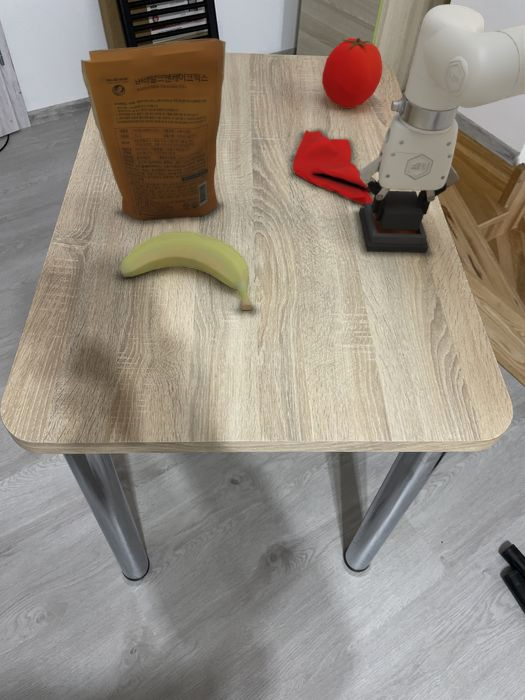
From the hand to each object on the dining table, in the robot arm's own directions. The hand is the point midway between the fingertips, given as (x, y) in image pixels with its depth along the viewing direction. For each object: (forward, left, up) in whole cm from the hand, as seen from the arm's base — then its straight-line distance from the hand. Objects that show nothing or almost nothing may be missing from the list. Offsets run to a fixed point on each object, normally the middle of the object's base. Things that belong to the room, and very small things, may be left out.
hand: (397, 215), depth 88 cm
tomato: (-12, -41, -4) cm, 43 cm away
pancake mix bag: (+34, -16, -4) cm, 38 cm away
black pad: (0, 0, -1) cm, 1 cm away
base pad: (0, 0, -4) cm, 4 cm away
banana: (+35, +1, -4) cm, 35 cm away
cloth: (+3, -20, -4) cm, 21 cm away
